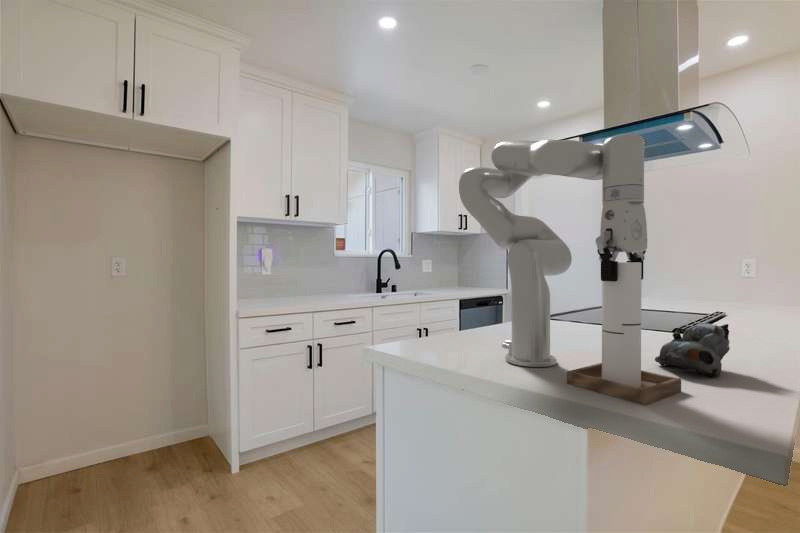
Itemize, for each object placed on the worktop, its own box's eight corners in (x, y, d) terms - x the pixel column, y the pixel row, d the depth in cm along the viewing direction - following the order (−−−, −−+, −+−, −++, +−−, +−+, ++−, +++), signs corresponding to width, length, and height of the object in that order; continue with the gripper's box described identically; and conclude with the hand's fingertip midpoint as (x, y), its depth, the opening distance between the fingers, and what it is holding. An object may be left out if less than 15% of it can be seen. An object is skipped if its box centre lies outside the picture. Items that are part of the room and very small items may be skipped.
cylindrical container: (646, 389, 80) (647, 262, 80) (607, 387, 82) (607, 262, 81) (633, 378, 87) (634, 262, 87) (597, 377, 89) (597, 262, 88)
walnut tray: (567, 383, 87) (567, 371, 87) (604, 372, 95) (604, 362, 95) (645, 405, 74) (645, 391, 74) (681, 391, 81) (681, 378, 81)
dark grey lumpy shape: (649, 361, 105) (671, 313, 106) (702, 385, 100) (725, 335, 101) (663, 357, 91) (689, 302, 92) (725, 385, 86) (751, 326, 87)
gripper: (617, 190, 76) (617, 282, 76) (663, 198, 85) (662, 279, 85) (580, 196, 82) (580, 281, 82) (626, 202, 91) (626, 278, 92)
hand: (622, 280), depth 84 cm, fingers open, 9 cm apart
